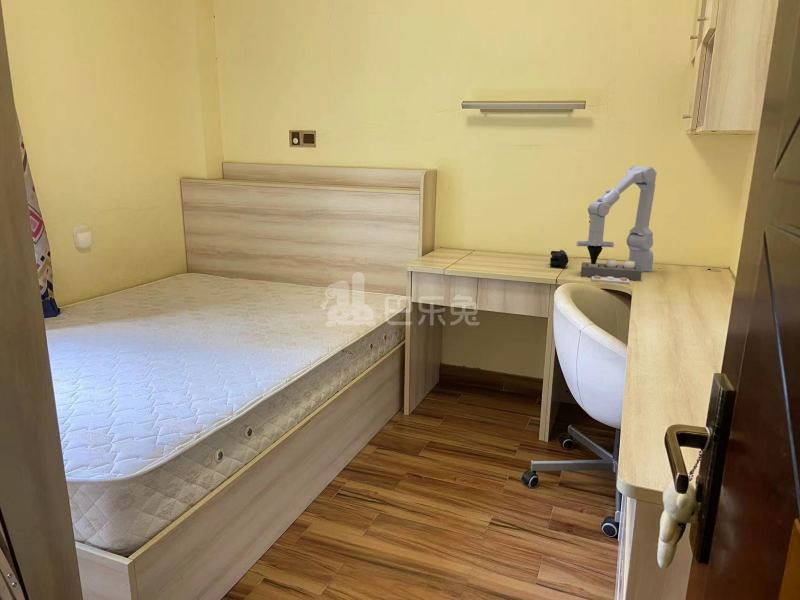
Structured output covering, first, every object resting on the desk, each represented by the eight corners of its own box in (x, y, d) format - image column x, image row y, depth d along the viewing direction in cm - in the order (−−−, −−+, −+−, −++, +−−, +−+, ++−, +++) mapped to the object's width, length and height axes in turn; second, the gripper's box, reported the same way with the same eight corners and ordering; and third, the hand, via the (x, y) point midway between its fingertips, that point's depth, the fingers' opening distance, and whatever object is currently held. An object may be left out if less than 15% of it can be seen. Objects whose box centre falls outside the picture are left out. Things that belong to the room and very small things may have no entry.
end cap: (567, 269, 263) (569, 253, 262) (550, 268, 265) (552, 253, 263) (566, 264, 273) (567, 249, 271) (549, 264, 274) (551, 249, 272)
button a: (633, 270, 249) (634, 261, 248) (634, 272, 245) (635, 262, 244) (623, 270, 250) (624, 260, 249) (623, 271, 246) (624, 262, 245)
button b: (615, 269, 251) (616, 259, 250) (615, 271, 247) (616, 261, 246) (605, 268, 252) (606, 259, 251) (605, 270, 248) (606, 261, 247)
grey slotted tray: (638, 275, 252) (640, 266, 251) (640, 281, 242) (641, 271, 241) (581, 271, 259) (582, 262, 258) (580, 276, 249) (581, 266, 248)
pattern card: (628, 280, 242) (629, 277, 241) (629, 284, 236) (629, 280, 236) (591, 278, 246) (592, 274, 245) (591, 281, 240) (592, 277, 240)
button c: (597, 272, 253) (598, 263, 252) (597, 274, 250) (598, 265, 249) (587, 271, 255) (588, 262, 254) (587, 273, 251) (588, 264, 250)
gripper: (612, 230, 251) (608, 262, 254) (576, 229, 252) (573, 261, 256) (616, 232, 244) (612, 265, 248) (579, 231, 245) (576, 264, 249)
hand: (593, 264), depth 251 cm, fingers closed, pressing on button c
